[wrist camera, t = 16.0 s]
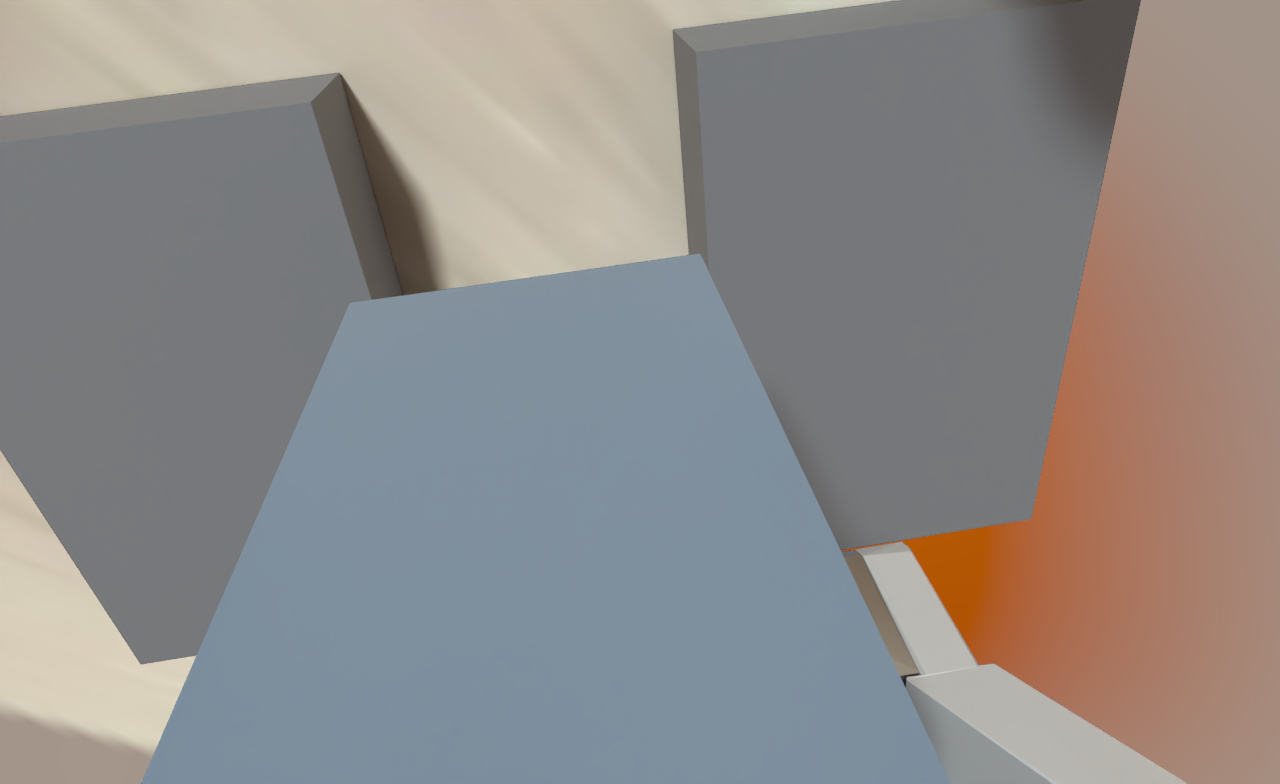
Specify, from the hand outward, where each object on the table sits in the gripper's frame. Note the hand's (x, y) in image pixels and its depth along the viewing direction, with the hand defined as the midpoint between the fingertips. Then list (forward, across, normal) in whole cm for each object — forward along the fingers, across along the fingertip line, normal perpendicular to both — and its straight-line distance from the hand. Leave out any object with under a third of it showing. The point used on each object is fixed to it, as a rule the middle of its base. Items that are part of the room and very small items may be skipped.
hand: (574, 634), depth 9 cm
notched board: (+11, 0, +2) cm, 11 cm away
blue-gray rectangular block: (+3, 0, 0) cm, 3 cm away
